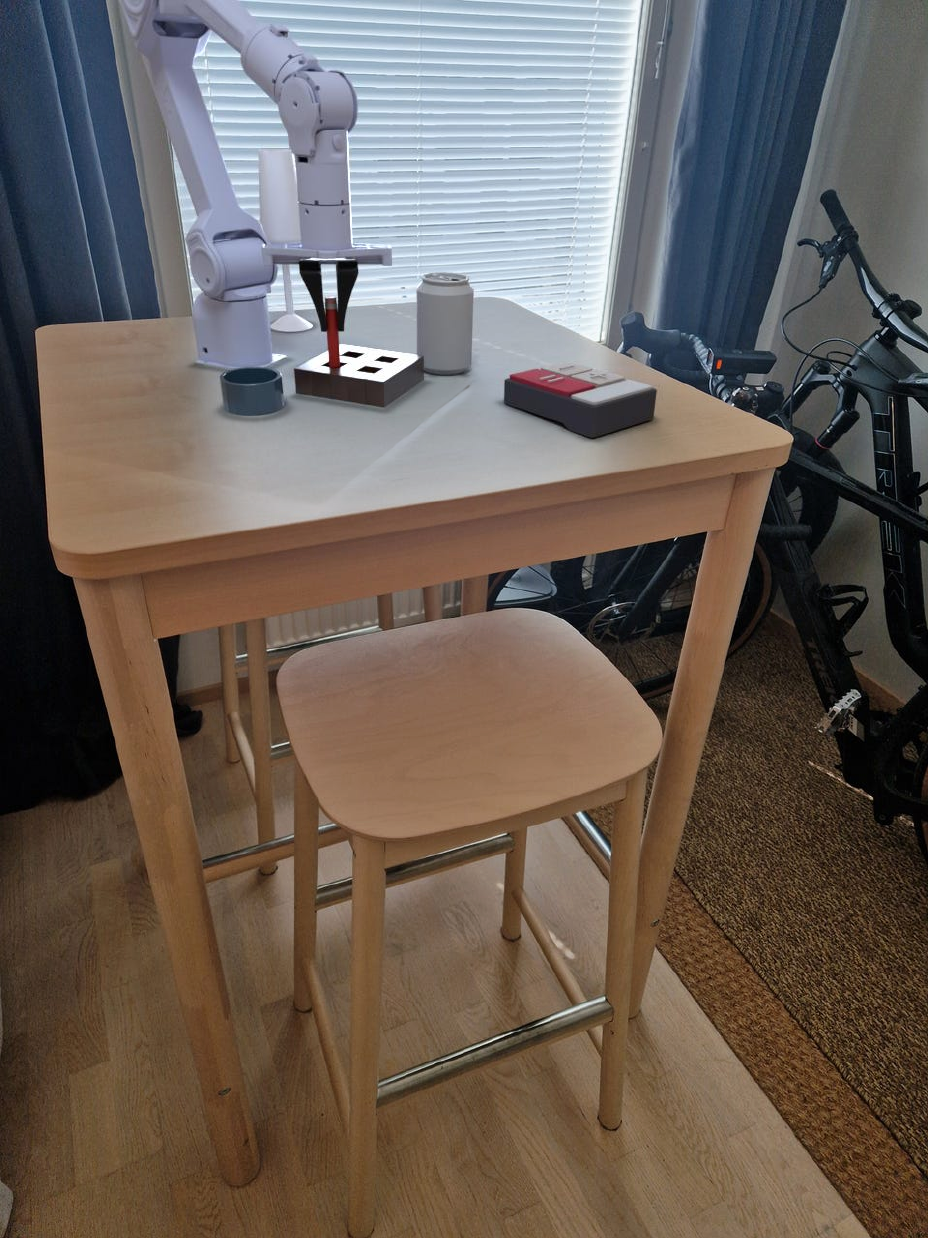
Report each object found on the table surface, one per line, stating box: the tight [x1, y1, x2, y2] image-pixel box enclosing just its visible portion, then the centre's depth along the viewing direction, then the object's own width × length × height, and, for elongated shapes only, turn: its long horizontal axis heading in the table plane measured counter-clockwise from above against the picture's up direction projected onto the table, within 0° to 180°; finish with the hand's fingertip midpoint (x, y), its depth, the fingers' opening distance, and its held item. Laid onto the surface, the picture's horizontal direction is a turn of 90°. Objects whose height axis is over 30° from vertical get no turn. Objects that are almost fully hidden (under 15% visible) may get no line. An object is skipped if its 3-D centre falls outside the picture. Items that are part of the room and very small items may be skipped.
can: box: [416, 271, 475, 376], centre depth 106 cm, size 8×8×12 cm
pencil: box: [324, 295, 340, 367], centre depth 96 cm, size 1×1×8 cm
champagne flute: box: [258, 148, 314, 333], centre depth 119 cm, size 7×7×24 cm
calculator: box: [503, 361, 658, 439], centre depth 96 cm, size 11×4×15 cm
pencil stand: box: [293, 343, 425, 409], centre depth 100 cm, size 12×12×4 cm
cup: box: [219, 367, 285, 417], centre depth 93 cm, size 7×7×4 cm
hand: (332, 329), depth 96 cm, fingers closed on pencil, 1 cm apart
